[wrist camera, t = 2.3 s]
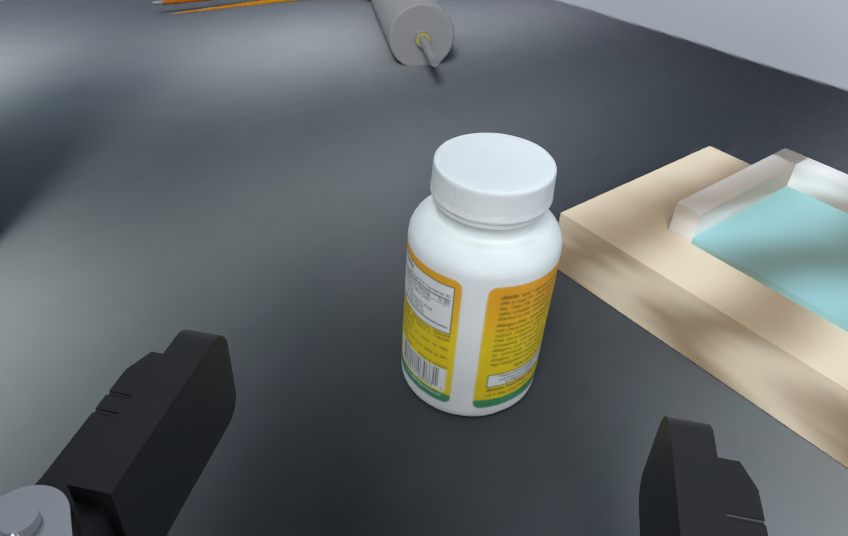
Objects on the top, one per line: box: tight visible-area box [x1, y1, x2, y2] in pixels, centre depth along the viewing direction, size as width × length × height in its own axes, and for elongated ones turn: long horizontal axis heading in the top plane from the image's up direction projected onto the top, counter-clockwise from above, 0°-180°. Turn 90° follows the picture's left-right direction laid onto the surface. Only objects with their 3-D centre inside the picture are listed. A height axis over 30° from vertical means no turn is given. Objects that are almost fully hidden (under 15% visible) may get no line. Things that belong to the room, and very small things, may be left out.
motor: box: [152, 0, 454, 67], centre depth 57 cm, size 23×22×5 cm
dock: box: [558, 146, 848, 468], centre depth 30 cm, size 18×12×4 cm
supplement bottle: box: [401, 133, 562, 416], centre depth 25 cm, size 5×5×10 cm
